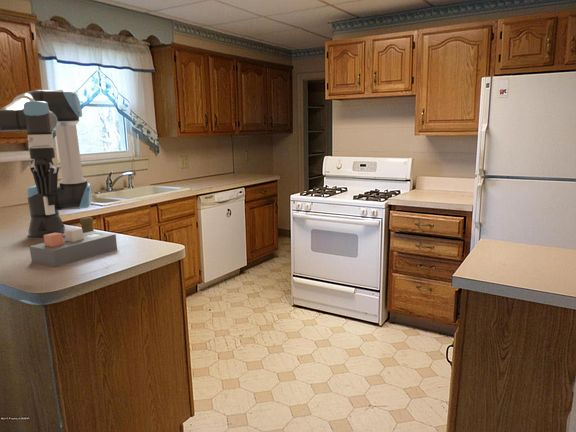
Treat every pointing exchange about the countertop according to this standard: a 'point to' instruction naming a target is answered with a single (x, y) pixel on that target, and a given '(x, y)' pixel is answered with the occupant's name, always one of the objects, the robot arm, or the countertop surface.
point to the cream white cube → (73, 234)
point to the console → (73, 249)
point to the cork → (86, 224)
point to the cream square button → (92, 235)
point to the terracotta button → (53, 239)
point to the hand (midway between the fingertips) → (50, 214)
